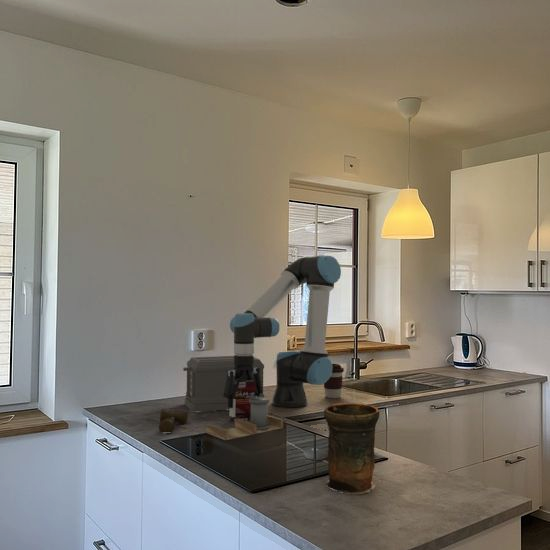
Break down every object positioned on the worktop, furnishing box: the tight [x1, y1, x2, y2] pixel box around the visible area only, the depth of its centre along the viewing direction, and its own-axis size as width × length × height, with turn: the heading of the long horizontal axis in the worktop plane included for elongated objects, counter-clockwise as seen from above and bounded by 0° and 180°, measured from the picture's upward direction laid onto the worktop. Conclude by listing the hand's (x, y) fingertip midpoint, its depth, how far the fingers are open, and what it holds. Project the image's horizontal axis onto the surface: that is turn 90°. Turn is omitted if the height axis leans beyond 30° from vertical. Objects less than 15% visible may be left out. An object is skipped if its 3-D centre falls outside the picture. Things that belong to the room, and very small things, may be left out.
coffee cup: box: [323, 363, 345, 399], centre depth 260 cm, size 10×10×15 cm
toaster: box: [182, 355, 266, 412], centre depth 239 cm, size 19×34×20 cm, turn 110°
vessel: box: [323, 402, 380, 496], centre depth 145 cm, size 14×14×20 cm
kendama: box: [158, 408, 189, 433], centre depth 203 cm, size 6×10×20 cm
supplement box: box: [230, 380, 256, 423], centre depth 210 cm, size 9×5×16 cm, turn 105°
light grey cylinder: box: [249, 397, 270, 430], centre depth 199 cm, size 7×7×10 cm
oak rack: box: [206, 414, 284, 441], centre depth 195 cm, size 25×11×4 cm, turn 130°
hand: (243, 414), depth 210 cm, fingers closed on supplement box, 9 cm apart
